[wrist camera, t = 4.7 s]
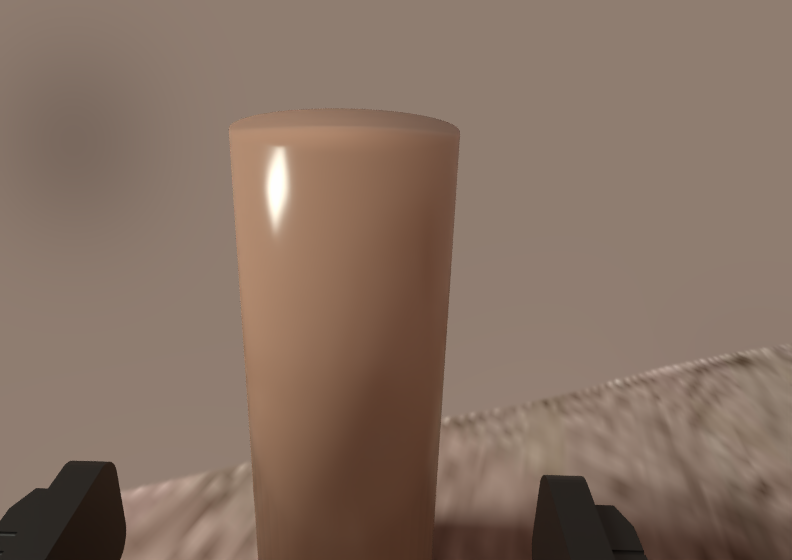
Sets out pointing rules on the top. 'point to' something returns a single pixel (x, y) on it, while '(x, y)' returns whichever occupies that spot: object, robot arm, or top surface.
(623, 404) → the top surface
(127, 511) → the top surface
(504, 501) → the top surface
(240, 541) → the top surface
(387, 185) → the terracotta canister
